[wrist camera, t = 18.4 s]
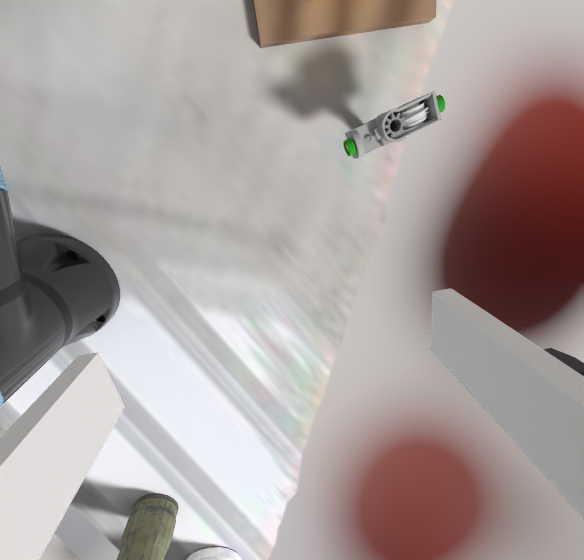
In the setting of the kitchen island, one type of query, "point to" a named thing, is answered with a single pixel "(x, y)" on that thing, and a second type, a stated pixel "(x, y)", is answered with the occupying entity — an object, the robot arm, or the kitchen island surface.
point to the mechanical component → (394, 125)
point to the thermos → (149, 528)
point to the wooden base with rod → (334, 18)
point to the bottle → (214, 554)
